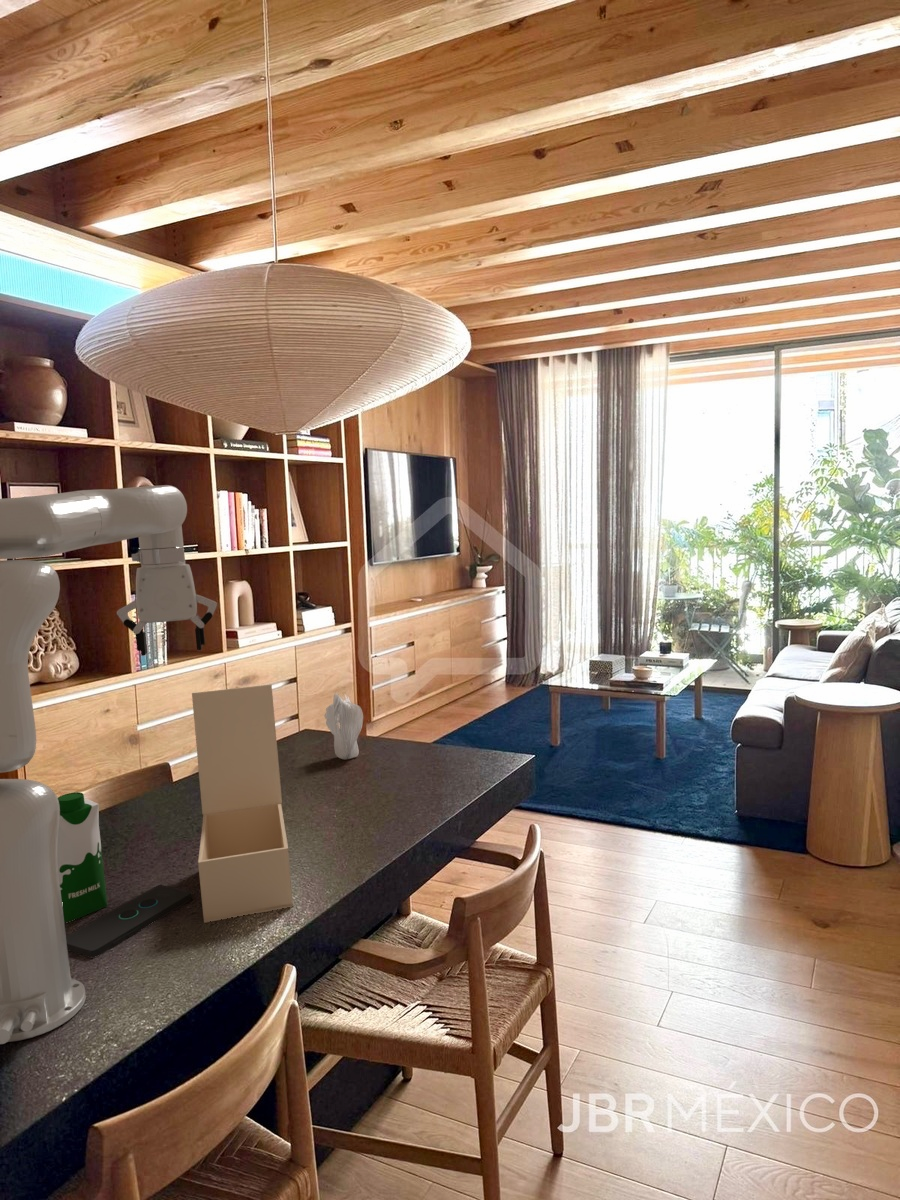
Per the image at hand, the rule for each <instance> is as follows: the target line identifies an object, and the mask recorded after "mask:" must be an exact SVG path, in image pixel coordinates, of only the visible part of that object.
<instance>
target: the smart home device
mask: <svg viewBox="0 0 900 1200" xmlns="http://www.w3.org/2000/svg"><path fill="white" fill-rule="evenodd" d="M192 896H193V895H192V891H191V890H185V889H181V888H177V887H173V886H169V885H163V884H158V885H156V886H154V887H152V888H149V890H147V891H144V892H142V893H141V894H139V895H138V896H136V897H134V898H132V899H130V900H129V901H126V902H125V903H124V904H121V905H119V906H117V907H116V908H114V909H112V910H111V911H109V912H107V913H105V914H104V915H101V916H100V917H98V918H96V919H94V920H93V921H91V922H89V923H87V924H86V925H84V926H82V927H80V928H78V929H77V930H75V931H73V932H71V933H70V934H68V935H66V941H67V950H70V951H69V952H71V951H73V952H72V953H74V952H76V953H75V954H78V953H79V955H81V954H84V955H86V956H85V957H88V956H89V957H88V958H91V957H94V958H96V957H99V956H100V955H102V954H103V953H105V952H107V951H109V950H110V949H112V948H113V947H115V946H117V945H118V944H120V943H122V942H124V941H125V940H127V939H129V938H131V936H134V935H135V934H137V933H138V932H141V931H142V930H143V928H144V929H146V928H147V927H148V925H149V924H150V925H152V924H153V923H155V922H157V921H159V920H160V919H162V918H163V917H165V916H167V915H168V914H170V913H172V912H173V911H175V910H177V909H178V908H180V907H181V906H184V905H185V904H187V903H188V902H190V901H191V900H192ZM166 914H167V915H166ZM161 917H162V918H161ZM159 918H160V919H159ZM156 920H157V921H156ZM154 921H155V922H154ZM152 922H153V923H152ZM151 923H152V924H151ZM150 925H149V926H150ZM146 926H147V927H146ZM141 929H142V930H141ZM84 955H83V956H84ZM98 955H99V956H98ZM95 956H96V957H95Z"/></svg>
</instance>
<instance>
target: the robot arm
mask: <svg viewBox="0 0 900 1200" xmlns="http://www.w3.org/2000/svg"><path fill="white" fill-rule="evenodd" d="M187 514H188V504H187V500H186V498H185V496H184V494H183V493H182V491H181V490H179V489H178V488H177V487H176V486H173V485H171V484H170V485H169V484H164V485H148V486H146V485H145V486H144V485H143V486H134V487H121V488H115V489H110V488H109V489H105V488H104V489H82V490H73V491H67V492H60V493H49V494H42V495H31V496H22V497H21V496H20V497H19V496H18V497H8V498H0V773H1V774H2V773H7V772H8V773H9V772H14V771H16V770H19V769H22V768H23V767H24V766H25V767H26V765H27V764H29V763H30V761H31V760H32V759H33V758H34V756H35V753H36V750H37V749H36V748H37V729H36V721H35V713H34V708H33V700H32V691H31V683H30V678H29V676H30V675H29V662H28V661H29V656H30V655H29V653H30V650H31V647H32V644H33V642H34V639H35V638H36V635H37V633H38V632H39V630H40V629H41V627H42V625H43V624H44V622H45V621H46V620H47V618H48V617H49V616H50V615H51V613H53V611H54V609H55V607H56V606H57V603H58V600H59V597H60V591H61V586H60V585H61V583H60V578H59V575H58V572H57V571H56V569H54V568H53V567H52V566H51V565H50V564H47V563H45V562H42V561H38V560H37V561H36V560H33V559H32V560H29V559H30V558H42V557H51V556H55V555H56V556H57V555H60V554H63V553H68V552H71V551H76V550H79V549H84V548H88V547H93V546H99V545H106V544H112V543H116V542H117V543H118V542H121V541H126V540H132V539H135V538H138V544H139V551H138V552H136V553H131V560H132V562H137V563H139V564H140V565H141V567H137V568H136V576H135V597H136V599H134V600H133V601H131V602H129V603H128V604H126V605H124V606H123V607H121V608H119V609H118V610H117V611H116V615H117V616H118V618H119V619H120V620H121V622H122V624H123V625H124V627H126V628H128V629H129V630H130V631H131V632H132V633H133V634H134V635H135V642H136V650H137V652H139V651H140V655H141V657H142V656H146V655H147V653H148V647H147V639H146V638H147V637H146V632H145V631H144V627H146V625H147V624H153V623H164V622H176V621H185V620H186V621H187V620H190V621H191V622H192V623H193V624H194V625H195V629H194V631H195V643H196V651H201V650H202V648H203V646H205V645H206V639H205V630H204V628H205V626H206V625H207V624H208V623H209V622H210V620H211V619H212V618H213V616H214V614H215V611H216V610H217V607H218V602H216V601H215V600H212V599H209V598H207V597H205V596H202V595H199V594H197V592H196V589H195V587H196V586H195V581H194V576H193V572H192V568H191V566H190V564H188V563H186V557H185V547H184V536H183V527H182V525H183V524H184V522H185V520H186V517H187ZM26 558H27V559H26ZM28 558H29V559H28ZM198 604H200V605H203V606H205V607H207V611H206V613H205V614H204V615H203V616H202V617H201V616H199V614H198ZM134 609H136V613H137V619H138V620H139V621H137V622H134V620H133V619H131V618H130V616H129V615H128V613H130V612H131V611H133V610H134ZM59 819H60V806H59V801H58V796H57V795H56V793H55V791H53V789H52V788H51V787H49V786H48V785H46V784H44V783H43V782H40V781H38V780H37V781H36V780H31V779H25V778H0V1045H4V1044H6V1043H9V1042H10V1043H11V1042H19V1041H23V1040H27V1039H31V1038H35V1037H37V1036H40V1035H43V1034H46V1033H48V1032H50V1031H52V1030H54V1029H56V1028H58V1027H60V1026H61V1025H63V1024H65V1023H67V1022H68V1021H70V1020H71V1018H73V1017H74V1016H76V1014H77V1013H78V1012H79V1011H80V1010H81V1009H82V1008H83V1006H84V1004H85V1001H86V999H87V996H86V988H85V985H84V984H83V983H82V982H81V981H79V980H77V979H74V978H72V977H71V969H70V960H69V951H68V950H67V941H66V936H67V935H66V923H65V922H64V916H63V907H62V899H61V890H60V883H59V874H58V862H57V840H58V829H59Z"/></svg>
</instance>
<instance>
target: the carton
mask: <svg viewBox="0 0 900 1200" xmlns="http://www.w3.org/2000/svg"><path fill="white" fill-rule="evenodd" d="M201 826H202V827H201V836H200V843H199V844H200V845H199V852H198V860H197V864H198V873H199V874H198V875H199V884H200V894H201V896H200V897H201V904H202V905H201V906H202V907H201V908H202V916H203V923H211V922H215V921H220V920H221V919H222V920H226V919H227V918H228V919H232V918H231V917H233V918H237V916H239V917H244V916H243V915H245V916H249V915H248V914H250V915H254V913H256V914H260V913H267V912H272V910H273V911H278V910H283V909H282V908H284V909H288V908H287V907H290V908H293V907H294V902H293V901H294V900H293V891H292V890H293V889H292V877H291V867H290V855H289V844H288V839H287V831H286V826H285V821H284V814H283V806H282V803H279V804H272V805H265V806H258V807H251V808H245V809H238V810H231V811H224V812H217V813H210V814H203V818H202V825H201ZM292 906H293V907H292ZM277 909H278V910H277ZM210 921H211V922H210Z"/></svg>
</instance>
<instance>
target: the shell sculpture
mask: <svg viewBox="0 0 900 1200" xmlns="http://www.w3.org/2000/svg"><path fill="white" fill-rule="evenodd" d="M344 697H345V698H344ZM332 700H333V702H332V703H331V704H330V705H328V706H327V707H326V709H325V714H324V719H325V720H326V721H325V725H326V727H327V728H328V729H329V731H330V733H331V734H332V735H333V740H334V741H333V743H334V744H333V746H334V754H335V755H336V757H337V758H339V759H340V760H341V759H342V760H350V759H354V758H356V757H358V755H359V754H360V753H359V752H360V751H359V746H358V742H357V740H358V738H359V736H360V734H361V731H362V728H363V724H364V723H363V721H364V713H363V710H362V707H361V706H360V705H358V704H357V703H354V702H351V700H350V697H349V696H347V695H346V693H345V692H344V694H343V695H342V697H341V695H339V693H334V694H333V699H332Z"/></svg>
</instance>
